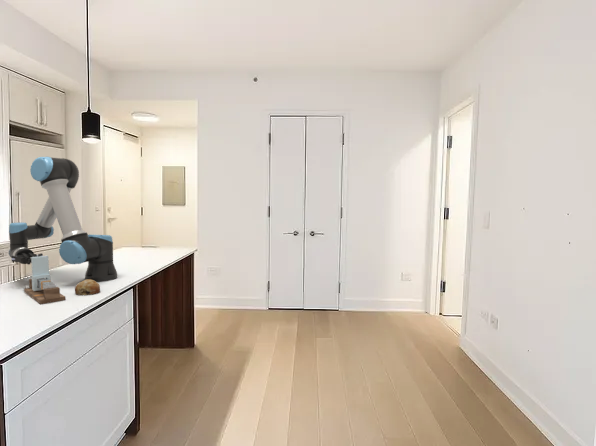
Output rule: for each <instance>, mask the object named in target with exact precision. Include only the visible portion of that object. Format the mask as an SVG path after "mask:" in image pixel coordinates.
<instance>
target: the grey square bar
mask: <svg viewBox="0 0 596 446" xmlns="http://www.w3.org/2000/svg"><path fill="white" fill-rule="evenodd" d="M56 285H57V284H56V283H54V282H52V281H50V280H47V279H46V278H39V279H37V286H38V287H40V288H41V289H42V290H44V289H46V288H47V289H51V288H56V287H57V286H56Z"/></svg>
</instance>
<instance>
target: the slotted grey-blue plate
mask: <svg viewBox="0 0 596 446" xmlns="http://www.w3.org/2000/svg"><path fill="white" fill-rule="evenodd" d="M49 261H50V260H49V256H48V255H43V256H39V257H31V263H32V264H31V263H30V264H31V279H32V290H33V291H38V290H42V289H41V288H40V287H38V286H37V279H39V278H46V279H47V280H50V281H51V273H50V264H49V263H50V262H49ZM51 282H52V281H51Z"/></svg>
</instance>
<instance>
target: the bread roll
mask: <svg viewBox="0 0 596 446" xmlns="http://www.w3.org/2000/svg"><path fill="white" fill-rule="evenodd" d="M100 292H101V285H100V283H99V282H98V281H94V280H91V279H86V280H85V279H84V280H82V281H80V282H78V283H77V284H76V285H75V287H74V294H76V295H78V296H83V295H84V296H92V295H97V294H99V293H100ZM96 293H97V294H96Z"/></svg>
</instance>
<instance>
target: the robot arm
mask: <svg viewBox="0 0 596 446" xmlns="http://www.w3.org/2000/svg"><path fill="white" fill-rule="evenodd" d="M30 175H31V178H32V179H33V180H35V181H37V182H39V183H40V186H41V188H42V189H44V190H46V192H47V195H48V198H47V199H46V201H45V204H44V206H43V208H42V210H41V212H40V214H39V216H38V218H37V220H36V221H35V223H34V224H33V225H30V224H29V225H28V224H27V222H22V221H21V222H11V223H10V224H9V225H8V226H9V227H8V234H9V250H8V255H9V257H10V259H11V262H12V263H13V262H15V263H19V264H22V265H28V266H29V265H32V263H31V257H39V256H44V255H43V253H34V251H33V250H31V249H29V241H32V240H39V239H40V240H41V239H46V238H47V239H48V238H50V237H52V236H54V230H55V229H54V227H53V225H54V223H55V221H56V219H57V222H58V225H59V228H60V231H61V233H62V238H61V239H60V241H61V243H60V245H59V249H58V253H59V256H60V257H61V259H62V260H63V261H64V262H65V263H67V264H69V265H80V264H83V263H88V265H87V268H86V271H85V274H84V280H86V279H91V280H94V281H96V282H105V281H107V282H108V281H111V280H115V279H117V278H118V271H117V269H116V267H115V264H114V250H113V249H114V242H113V241H114V240H113V237H112V235H109V234H88V232H87V231H85V230H83V228H82V225H81V221H80V219H79V216H78V214H77V211H76V207H75V206H74V203H73V199H72V198H71V195H70V192H71V190H72V189H75V188H76V186H77V184H78V182H79V177H80V171H79V168H78V166H77V164H76V163H75V161H72V160H70V159H68V158H63V157H62V158H60V157H51V156H39V157H37V158H35V159H34V160H33V161H32V163H31V165H30Z"/></svg>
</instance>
